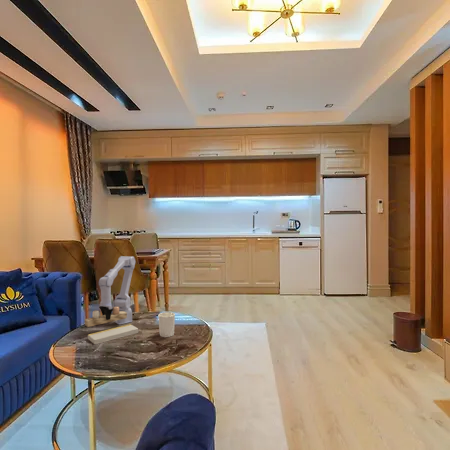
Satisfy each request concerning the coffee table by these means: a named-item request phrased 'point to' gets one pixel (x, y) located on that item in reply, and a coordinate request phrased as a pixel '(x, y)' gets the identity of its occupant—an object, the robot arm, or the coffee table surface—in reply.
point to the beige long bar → (102, 319)
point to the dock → (112, 334)
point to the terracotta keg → (115, 310)
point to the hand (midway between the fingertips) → (106, 318)
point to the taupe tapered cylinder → (96, 314)
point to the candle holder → (166, 324)
